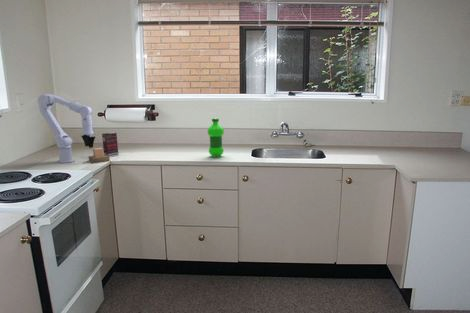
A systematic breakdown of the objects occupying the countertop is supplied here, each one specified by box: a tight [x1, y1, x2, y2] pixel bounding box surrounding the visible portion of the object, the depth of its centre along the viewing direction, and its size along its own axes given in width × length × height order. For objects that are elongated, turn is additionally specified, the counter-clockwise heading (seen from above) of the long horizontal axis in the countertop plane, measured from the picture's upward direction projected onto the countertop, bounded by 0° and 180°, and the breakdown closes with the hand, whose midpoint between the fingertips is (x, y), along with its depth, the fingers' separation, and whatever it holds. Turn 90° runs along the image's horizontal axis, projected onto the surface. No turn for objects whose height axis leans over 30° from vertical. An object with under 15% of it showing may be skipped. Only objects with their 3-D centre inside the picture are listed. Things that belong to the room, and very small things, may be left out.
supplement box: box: [101, 131, 119, 157], centre depth 264 cm, size 9×5×16 cm, turn 135°
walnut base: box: [88, 155, 110, 164], centre depth 249 cm, size 10×10×3 cm
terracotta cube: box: [92, 147, 104, 157], centre depth 248 cm, size 5×5×5 cm
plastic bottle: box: [207, 117, 225, 158], centre depth 255 cm, size 10×10×25 cm
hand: (89, 146), depth 246 cm, fingers open, 7 cm apart
